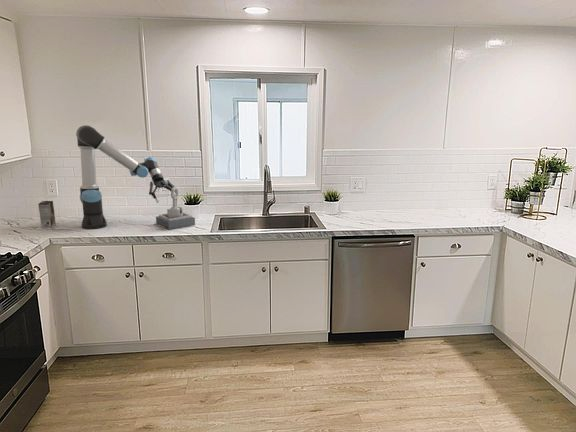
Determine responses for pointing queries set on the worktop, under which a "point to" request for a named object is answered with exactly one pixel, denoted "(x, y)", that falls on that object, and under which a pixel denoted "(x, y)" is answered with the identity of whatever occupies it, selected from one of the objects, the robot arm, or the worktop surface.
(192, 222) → the grey square tray
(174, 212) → the engine component
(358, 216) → the worktop surface
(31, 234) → the worktop surface
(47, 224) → the coffee box
